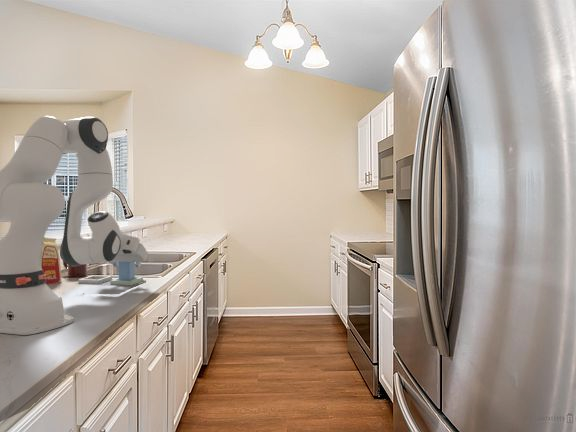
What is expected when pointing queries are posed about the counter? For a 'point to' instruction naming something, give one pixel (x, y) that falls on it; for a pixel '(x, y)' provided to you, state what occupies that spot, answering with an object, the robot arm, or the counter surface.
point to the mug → (76, 270)
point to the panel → (109, 281)
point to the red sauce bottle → (50, 261)
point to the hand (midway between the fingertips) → (127, 265)
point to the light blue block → (126, 271)
